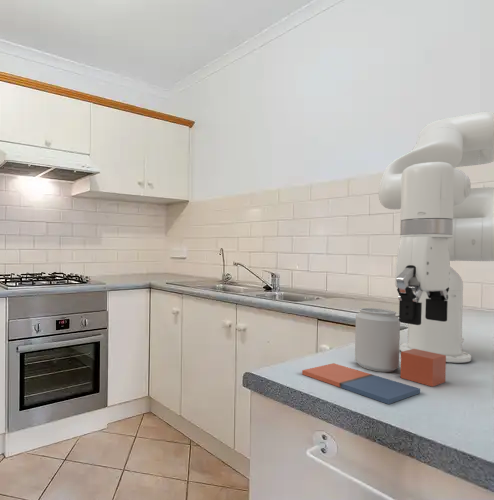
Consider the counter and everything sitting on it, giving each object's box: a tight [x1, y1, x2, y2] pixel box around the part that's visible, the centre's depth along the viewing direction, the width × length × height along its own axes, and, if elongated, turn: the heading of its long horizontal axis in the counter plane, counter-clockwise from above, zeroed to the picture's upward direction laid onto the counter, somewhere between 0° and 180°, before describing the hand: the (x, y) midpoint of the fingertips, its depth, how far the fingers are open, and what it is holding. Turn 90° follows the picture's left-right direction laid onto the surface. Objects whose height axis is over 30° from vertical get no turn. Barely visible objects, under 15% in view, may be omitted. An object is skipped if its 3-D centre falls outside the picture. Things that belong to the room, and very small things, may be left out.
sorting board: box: [301, 362, 421, 405], centre depth 66 cm, size 10×15×1 cm, turn 28°
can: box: [354, 307, 401, 373], centre depth 75 cm, size 8×8×12 cm
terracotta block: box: [400, 349, 447, 388], centre depth 68 cm, size 5×5×5 cm
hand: (423, 321), depth 68 cm, fingers open, 9 cm apart
